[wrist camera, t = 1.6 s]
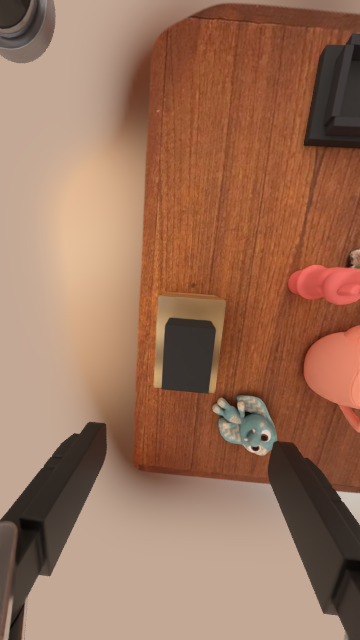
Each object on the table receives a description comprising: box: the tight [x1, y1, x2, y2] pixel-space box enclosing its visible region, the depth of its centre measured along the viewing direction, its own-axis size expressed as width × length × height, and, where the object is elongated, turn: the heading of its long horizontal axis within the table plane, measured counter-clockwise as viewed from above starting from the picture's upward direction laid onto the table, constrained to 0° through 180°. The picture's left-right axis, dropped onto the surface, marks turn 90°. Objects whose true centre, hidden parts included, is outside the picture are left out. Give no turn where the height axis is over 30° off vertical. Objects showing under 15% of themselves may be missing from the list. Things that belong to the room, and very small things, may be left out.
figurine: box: [288, 265, 360, 305], centre depth 22 cm, size 5×5×15 cm
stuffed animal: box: [213, 395, 277, 455], centre depth 32 cm, size 11×7×12 cm
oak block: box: [154, 292, 226, 393], centre depth 27 cm, size 12×8×10 cm, turn 176°
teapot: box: [304, 325, 360, 433], centre depth 27 cm, size 12×18×10 cm
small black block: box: [161, 318, 216, 393], centre depth 20 cm, size 7×5×4 cm
